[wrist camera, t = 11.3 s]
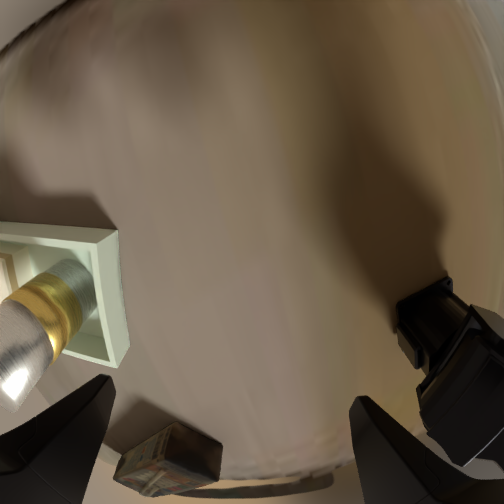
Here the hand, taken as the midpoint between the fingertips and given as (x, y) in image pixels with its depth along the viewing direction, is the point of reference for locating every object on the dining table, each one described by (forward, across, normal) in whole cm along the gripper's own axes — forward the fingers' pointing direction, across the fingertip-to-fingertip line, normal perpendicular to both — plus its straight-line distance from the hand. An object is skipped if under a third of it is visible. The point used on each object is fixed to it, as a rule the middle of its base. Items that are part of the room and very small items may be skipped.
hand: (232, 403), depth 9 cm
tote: (+13, +18, +4) cm, 23 cm away
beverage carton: (+14, +9, +31) cm, 35 cm away
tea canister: (+12, +15, +4) cm, 20 cm away
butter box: (+12, +23, +4) cm, 26 cm away
